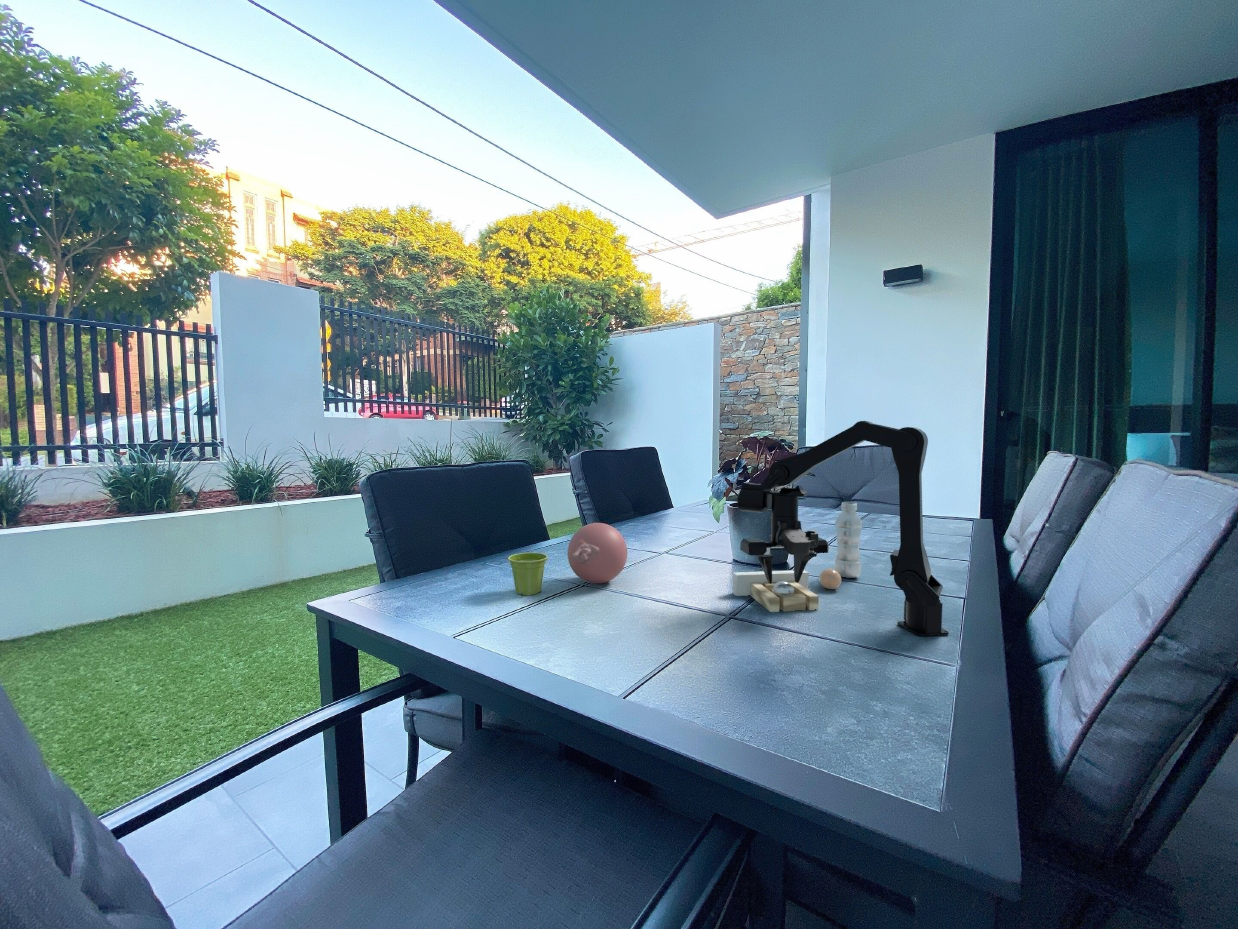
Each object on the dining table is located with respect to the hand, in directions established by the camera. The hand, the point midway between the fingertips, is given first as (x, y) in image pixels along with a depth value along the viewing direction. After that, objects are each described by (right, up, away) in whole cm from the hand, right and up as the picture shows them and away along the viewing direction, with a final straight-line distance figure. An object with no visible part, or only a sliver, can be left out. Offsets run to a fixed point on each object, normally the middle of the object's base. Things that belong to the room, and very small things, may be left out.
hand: (783, 582), depth 117 cm
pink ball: (-44, -4, +14) cm, 46 cm away
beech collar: (0, -5, 0) cm, 5 cm away
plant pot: (-60, -4, +8) cm, 60 cm away
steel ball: (0, -2, 0) cm, 2 cm away
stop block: (-1, -4, +7) cm, 8 cm away
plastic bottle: (+24, -3, +20) cm, 31 cm away
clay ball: (+15, -1, +10) cm, 18 cm away
